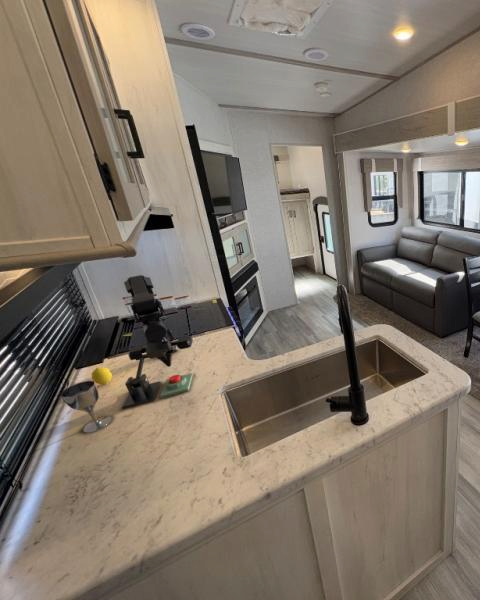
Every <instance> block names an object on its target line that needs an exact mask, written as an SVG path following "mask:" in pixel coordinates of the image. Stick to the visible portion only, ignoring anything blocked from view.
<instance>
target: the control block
mask: <svg viewBox="0 0 480 600" xmlns="http://www.w3.org/2000/svg"><path fill="white" fill-rule="evenodd" d="M179 375H180V378H181V380H180V381H179V382H177V383H173V384H170V382H169V378H167V379H166V380H165V382H164V384H163V387H162V390H161V392H160V395H159V398H160V399H165V398H167V397H171V396H174V395H175V396H176V395H178V394H183V393H186V392H189V391H190V387H191V383H192V381H193V377H194V374H193V373H188V374H182V375H181V374H179Z"/></svg>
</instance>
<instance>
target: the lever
mask: <svg viewBox="0 0 480 600" xmlns="http://www.w3.org/2000/svg"><path fill="white" fill-rule="evenodd" d="M145 359H150V358H149V356H148V355H147V353H143V356H142V357H141V358H139V359H135V361H138V366H137V371H136V376H135V377H134V378H133V380H132V384H131V385H132V386H133V387H134V388H137V387H141V385H140V383H139V379H140V377H141V375H142V374H143V368H144V362H145Z"/></svg>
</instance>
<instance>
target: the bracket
mask: <svg viewBox="0 0 480 600" xmlns="http://www.w3.org/2000/svg"><path fill="white" fill-rule="evenodd" d="M132 380H133V376H129V377H128V378H127V380H126V381H125V384H124V385H125V387H126V389H127V391H128V395H127V397H126V398H125V400H124V402H123V405H122V406H121V408H122V409H123V410H125V409H129V408H132V407H137V406H140V405H143V404H147V403H151V402H154V400H155V397H156V396H157V393H158V391H159V388H160V386H161V381H160V380H159V381H154V382H151V383H150V382H149V379H148V376H147V374H146V373H141V377H140V379H139V383H140V385H141V387H137V388H134V387H133V386H132V385H131V384H132Z"/></svg>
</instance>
